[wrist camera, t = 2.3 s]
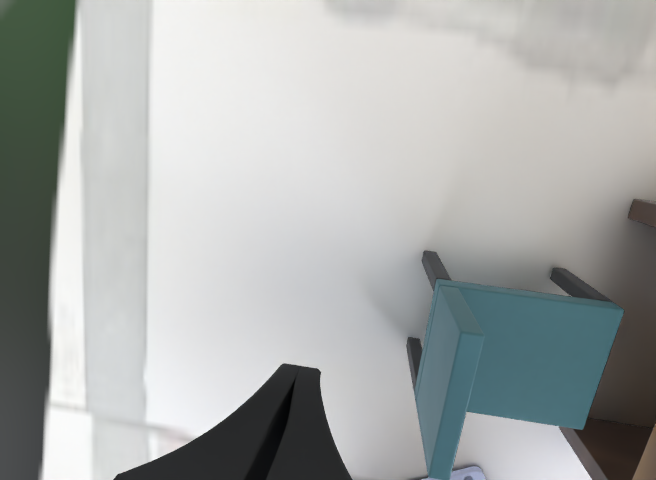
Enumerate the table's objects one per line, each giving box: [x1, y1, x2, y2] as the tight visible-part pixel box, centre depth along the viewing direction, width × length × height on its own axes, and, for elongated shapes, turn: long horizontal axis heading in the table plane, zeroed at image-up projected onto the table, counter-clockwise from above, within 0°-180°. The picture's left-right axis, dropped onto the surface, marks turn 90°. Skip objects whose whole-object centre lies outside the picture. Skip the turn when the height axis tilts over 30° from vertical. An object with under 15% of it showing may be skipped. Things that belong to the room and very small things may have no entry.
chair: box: [406, 251, 624, 480], centre depth 17 cm, size 8×6×9 cm
